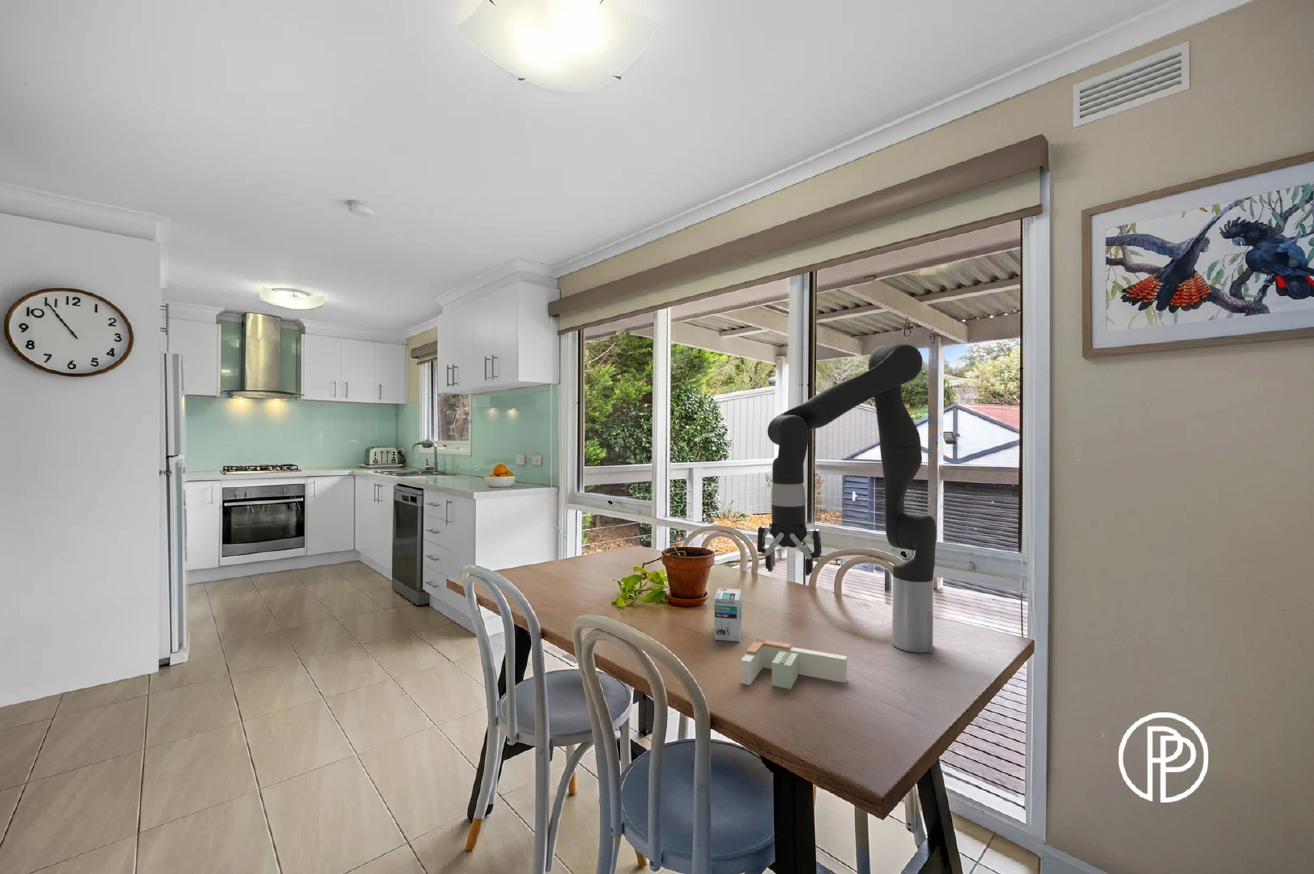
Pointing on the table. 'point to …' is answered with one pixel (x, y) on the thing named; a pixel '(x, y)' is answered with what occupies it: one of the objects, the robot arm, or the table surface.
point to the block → (784, 669)
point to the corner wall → (808, 661)
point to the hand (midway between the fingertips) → (789, 572)
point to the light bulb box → (728, 614)
